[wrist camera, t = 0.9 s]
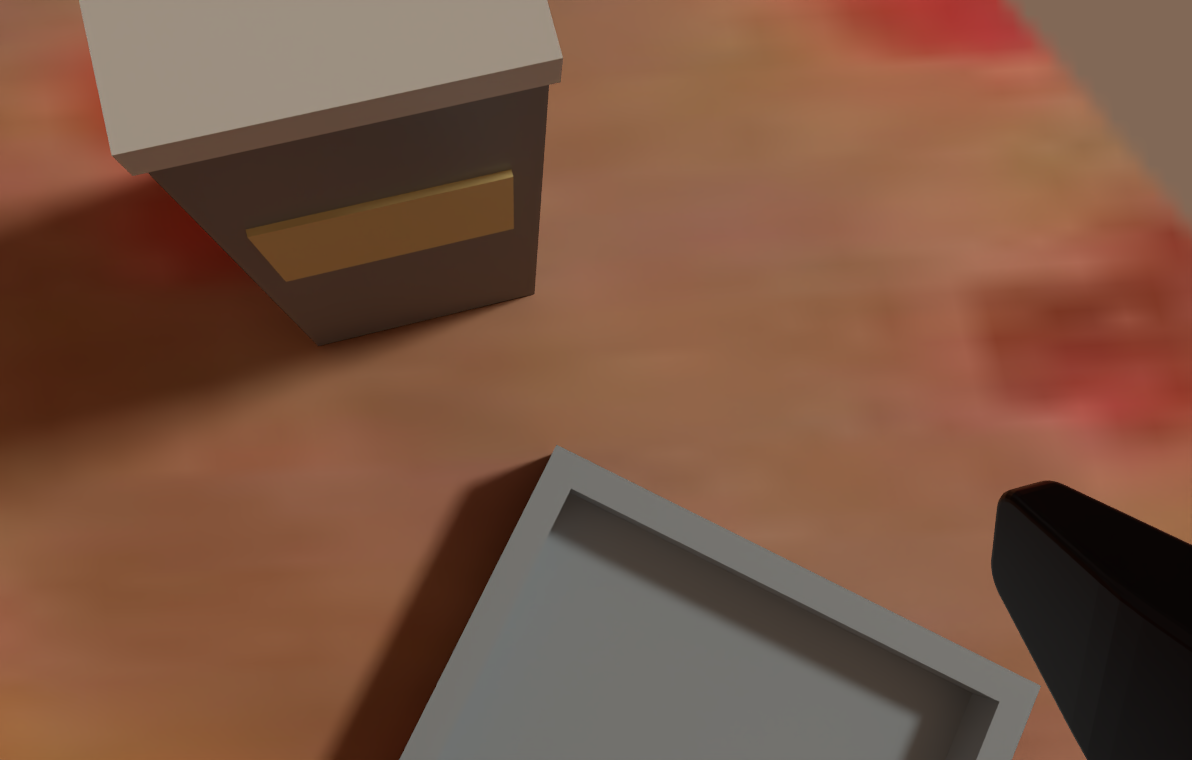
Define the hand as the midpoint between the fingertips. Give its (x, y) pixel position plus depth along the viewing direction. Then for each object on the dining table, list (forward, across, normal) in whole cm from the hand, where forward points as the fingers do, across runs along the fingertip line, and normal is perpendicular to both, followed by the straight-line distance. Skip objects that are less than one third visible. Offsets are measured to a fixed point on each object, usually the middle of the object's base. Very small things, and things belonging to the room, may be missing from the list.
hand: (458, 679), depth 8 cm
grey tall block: (+15, 0, +3) cm, 15 cm away
